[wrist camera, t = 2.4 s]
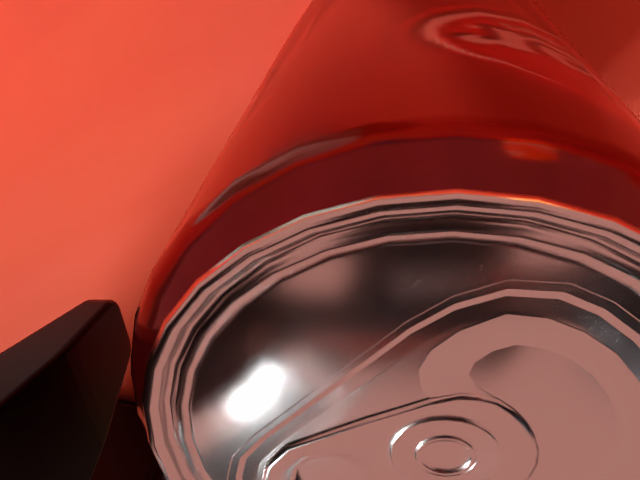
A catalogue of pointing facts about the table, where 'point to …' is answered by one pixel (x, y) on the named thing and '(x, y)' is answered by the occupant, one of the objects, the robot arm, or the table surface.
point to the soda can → (406, 262)
